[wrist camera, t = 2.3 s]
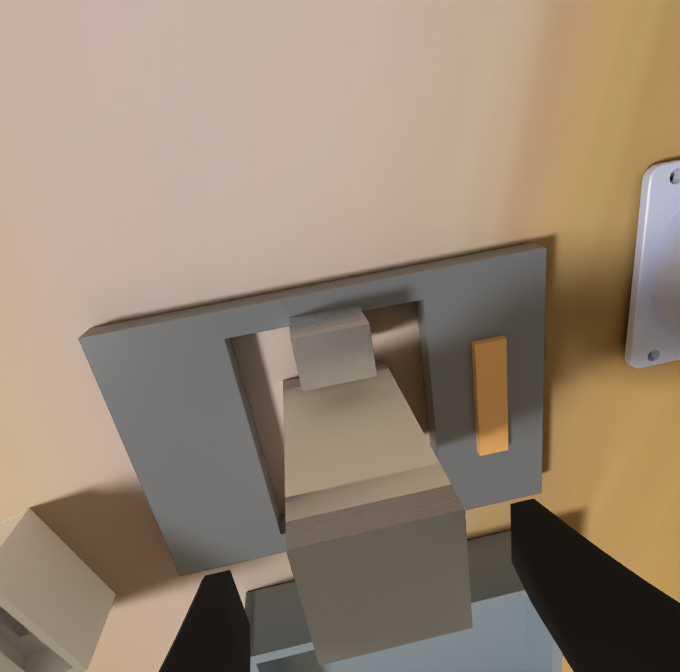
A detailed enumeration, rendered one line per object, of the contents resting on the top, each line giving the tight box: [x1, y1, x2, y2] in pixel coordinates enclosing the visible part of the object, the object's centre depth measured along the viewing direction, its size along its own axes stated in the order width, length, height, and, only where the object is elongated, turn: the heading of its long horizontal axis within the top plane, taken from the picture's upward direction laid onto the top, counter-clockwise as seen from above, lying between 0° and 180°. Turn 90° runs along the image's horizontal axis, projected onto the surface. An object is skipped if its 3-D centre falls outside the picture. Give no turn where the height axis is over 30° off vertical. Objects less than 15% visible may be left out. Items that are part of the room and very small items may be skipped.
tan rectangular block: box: [283, 360, 473, 666], centre depth 14 cm, size 4×4×8 cm
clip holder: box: [78, 243, 547, 576], centre depth 16 cm, size 16×11×3 cm
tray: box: [245, 530, 562, 672], centre depth 22 cm, size 14×11×3 cm
